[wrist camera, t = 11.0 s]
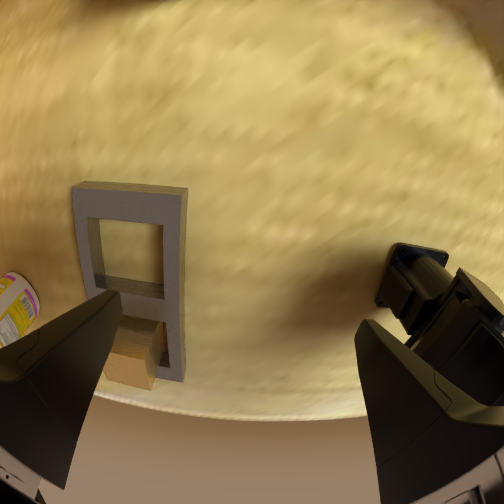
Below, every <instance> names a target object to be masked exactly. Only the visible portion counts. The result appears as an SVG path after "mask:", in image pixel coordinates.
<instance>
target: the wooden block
mask: <svg viewBox="0 0 504 504" xmlns="http://www.w3.org/2000/svg"><path fill="white" fill-rule="evenodd" d="M164 347H165V343H164V333H163V322H160V321H155V320H149V319H144V318H139V317H133V316H128V315H123V314H122V316H121V320H120V323H119V326H118V329H117V332H116V336H115V339H114V342H113V345H112V348H111V351H110V353H109V356H108V358H107V361H106V363H105V365H104V368H103V371H104V373H105V376H106V378H107V380H110V381H114V382H118V383H121V384H125V385H129V386H133V387H137V388H142V389H146V390H151V389H152V385H153V382H154V379H155V375H156V372H157V369H158V366H159V362H160V359H161V356H162V353H163V350H164Z"/></svg>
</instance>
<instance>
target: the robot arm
mask: <svg viewBox="0 0 504 504" xmlns="http://www.w3.org/2000/svg"><path fill="white" fill-rule="evenodd" d="M401 248H403V249H402V250H401V251H400V249H401ZM443 257H444V258H443ZM448 258H449V254H448V253H447V252H445V251H442V250H437V249H431V248H426V247H421V246H416V245H410V244H405V243H399V244H398V245H397V246H396V248H395V251H394V253H393V256H392V259H391V262H390V264H389V266H388V268H387V271H386V273H385V276H384V278H383V281H382V283H381V285H380V288H379V292H378V294H377V296H376V298H375V301H374V302H375V304H376V306H377V307H386V308H390V309H391V311H392V313H393V314H394V316H395V318H396V319H399V320H400V322H401V324H402V326H403V327H404V329H405V331H406V333H407V334H408V335H411V337H410V338H409V339H408V340H407V341H406V343H405V344H403V343H402V342H401V341H399V340H398V339H397V338H396V337H394V336H393V335H392V334H391V333H389V332H388V331H387V330H386V329H384V328H383V327H382V326H381V325H380V324H378V323H377V322H376V321H375V320H373V319H363V320H362V321H361V323H360V326H359V328H358V330H357V332H356V334H355V338H354V341H355V348H356V356H357V364H358V372H359V377H360V382H361V386H362V391H363V396H364V400H365V405H366V410H367V415H368V420H369V426H370V431H371V437H372V442H373V448H374V455H375V461H376V467H377V476H378V484H379V492H380V501H381V504H415V503H417V502H418V504H504V304H503V303H502V301H501V299H500V298H499V297H498V296H497V295H496V294H495V293H494V292H493V291H492V290H491V289H490V288H489V287H488V286H487V285H486V284H484V283H483V282H482V281H480V280H479V279H477V278H476V277H474V276H473V275H471V274H470V273H468V272H467V271H465V270H463V269H462V268H460V267H459V269H458V270H457V272H456V276H455V277H454V278H453V277H452V275H451V274H450V273H449V272H448V271H447V270H446V269H445V265H446V263H447V261H448ZM379 301H381V302H379ZM122 313H123V307H122V301H121V295H120V292H119V291H118V290H113V289H108V290H106V291H104V292H102V293H100V294H99V295H97V296H95V297H93V298H91V299H89V300H88V301H86V302H84V303H82V304H80V305H79V306H77V307H75V308H73V309H71V310H70V311H68V312H66V313H64V314H63V315H61V316H59V317H57V318H56V319H54V320H52V321H50V322H49V323H47V324H45V325H43V326H42V327H40V329H39V328H38V329H36V330H35V331H33V332H31V333H29V334H28V335H26V336H24V337H22V338H20V339H18V340H16V341H14V342H12V343H10V344H8V345H6V346H4V347H2V348H0V504H46V503H45V501H44V499H43V497H42V495H41V493H40V491H39V489H38V486H39V483H40V480H41V479H43V480H45V481H47V482H49V483H51V484H53V485H55V486H57V487H58V488H61V489H63V490H64V488H65V485H66V481H67V477H68V473H69V469H70V465H71V461H72V458H73V454H74V451H75V448H76V444H77V441H78V437H79V434H80V431H81V428H82V425H83V422H84V419H85V416H86V413H87V410H88V407H89V405H90V402H91V399H92V396H93V394H94V391H95V388H96V386H97V383H98V381H99V378H100V375H101V373H102V370H103V368H104V365H105V363H106V361H107V358H108V356H109V353H110V351H111V348H112V345H113V342H114V339H115V336H116V332H117V329H118V326H119V323H120V320H121V316H122Z"/></svg>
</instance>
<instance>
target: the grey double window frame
mask: <svg viewBox="0 0 504 504" xmlns="http://www.w3.org/2000/svg"><path fill="white" fill-rule="evenodd" d="M187 200H188V188H180V187H169V186H158V185H145V184H130V183H113V182H92V181H84V182H82V183H80V184H78V185H76V186H74V187H72V201H73V213H74V222H75V231H76V239H77V246H78V252H79V258H80V264H81V269H82V275H83V280H84V284H85V289H86V294H87V298H88V300H89V299H91V298H93V297H95V296H97V295H99V294H100V293H102V292H104V291H106V290H108V289H113V290H118V291H119V292H120V295H121V301H122V307H123V313H122V314H123V315H128V316H133V317H139V318H144V319H149V320H155V321H160V322H166V328H167V341H168V351H169V353H164V352H163V353H162V356H161V359H160V362H159V366H158V369H157V372H156V375H155V377H156V378H161V379H166V380H172V381H177V382H183V380H184V376H185V371H186V357H185V319H184V279H185V239H186V217H187ZM99 218H103V219H112V220H122V221H131V222H140V223H149V224H158V225H163V270H164V285H160V284H153V283H147V282H141V281H135V280H129V279H123V278H117V277H112V276H106V275H105V271H104V264H103V256H102V248H101V239H100V228H99Z"/></svg>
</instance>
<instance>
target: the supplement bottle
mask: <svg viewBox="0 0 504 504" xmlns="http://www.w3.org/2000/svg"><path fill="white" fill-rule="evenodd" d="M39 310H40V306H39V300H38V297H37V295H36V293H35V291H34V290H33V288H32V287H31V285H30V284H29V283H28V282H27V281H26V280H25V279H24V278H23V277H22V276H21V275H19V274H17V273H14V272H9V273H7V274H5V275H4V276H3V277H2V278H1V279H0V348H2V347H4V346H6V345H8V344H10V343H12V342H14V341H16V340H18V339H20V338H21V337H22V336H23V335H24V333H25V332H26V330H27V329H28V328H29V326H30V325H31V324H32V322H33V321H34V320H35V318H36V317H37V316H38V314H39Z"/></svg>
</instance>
